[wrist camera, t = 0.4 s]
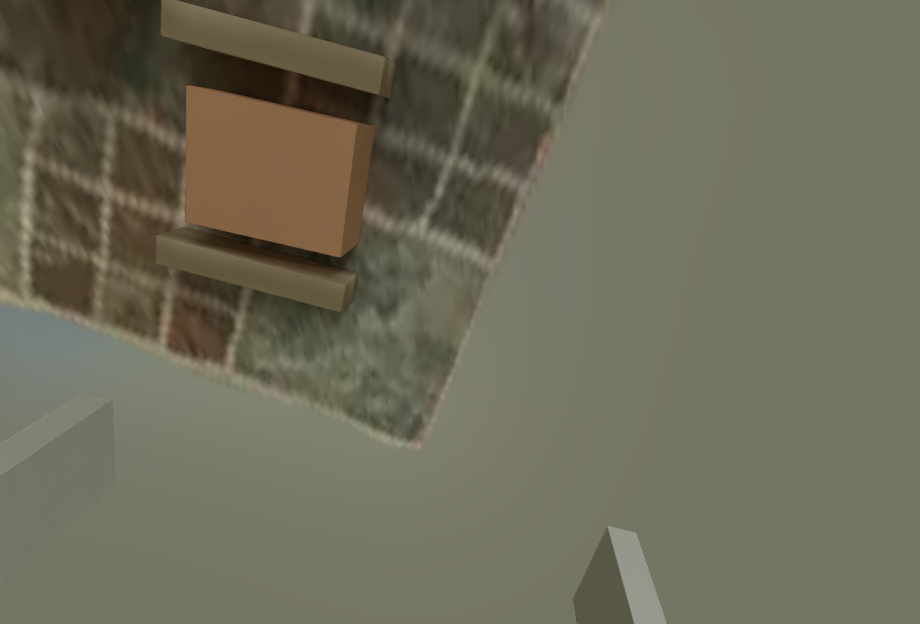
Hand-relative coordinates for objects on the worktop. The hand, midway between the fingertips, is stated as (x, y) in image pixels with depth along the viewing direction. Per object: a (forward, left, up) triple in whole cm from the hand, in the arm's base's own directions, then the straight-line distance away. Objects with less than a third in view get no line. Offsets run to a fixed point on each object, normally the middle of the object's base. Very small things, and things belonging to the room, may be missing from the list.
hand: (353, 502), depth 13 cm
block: (-4, -12, -23) cm, 26 cm away
